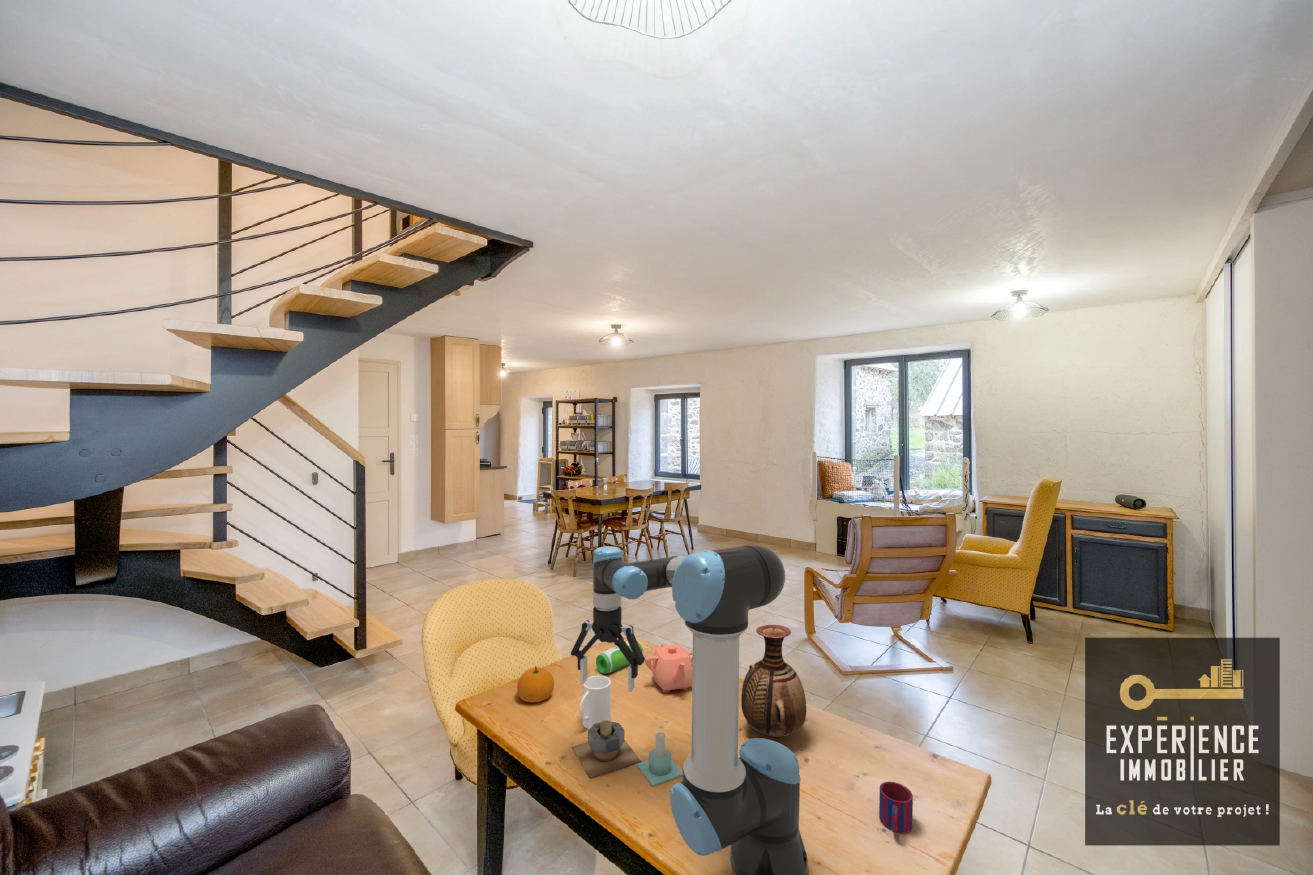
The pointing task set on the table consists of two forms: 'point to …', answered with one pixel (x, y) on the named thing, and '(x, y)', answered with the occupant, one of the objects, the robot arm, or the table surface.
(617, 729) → the clutch ring
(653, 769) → the stand
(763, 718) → the vase
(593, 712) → the mug
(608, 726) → the hub
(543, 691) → the fruit
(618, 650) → the speaker
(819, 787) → the table surface
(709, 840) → the robot arm
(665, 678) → the teapot
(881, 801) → the cup
